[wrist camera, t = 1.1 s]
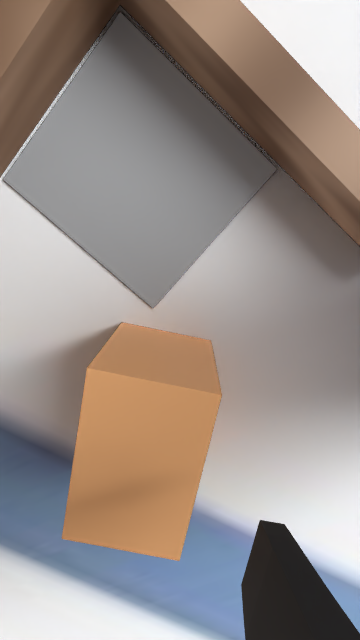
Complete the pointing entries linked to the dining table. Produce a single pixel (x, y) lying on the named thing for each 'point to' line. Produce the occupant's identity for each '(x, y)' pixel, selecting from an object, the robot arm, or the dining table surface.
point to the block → (142, 441)
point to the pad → (138, 164)
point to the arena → (205, 68)
